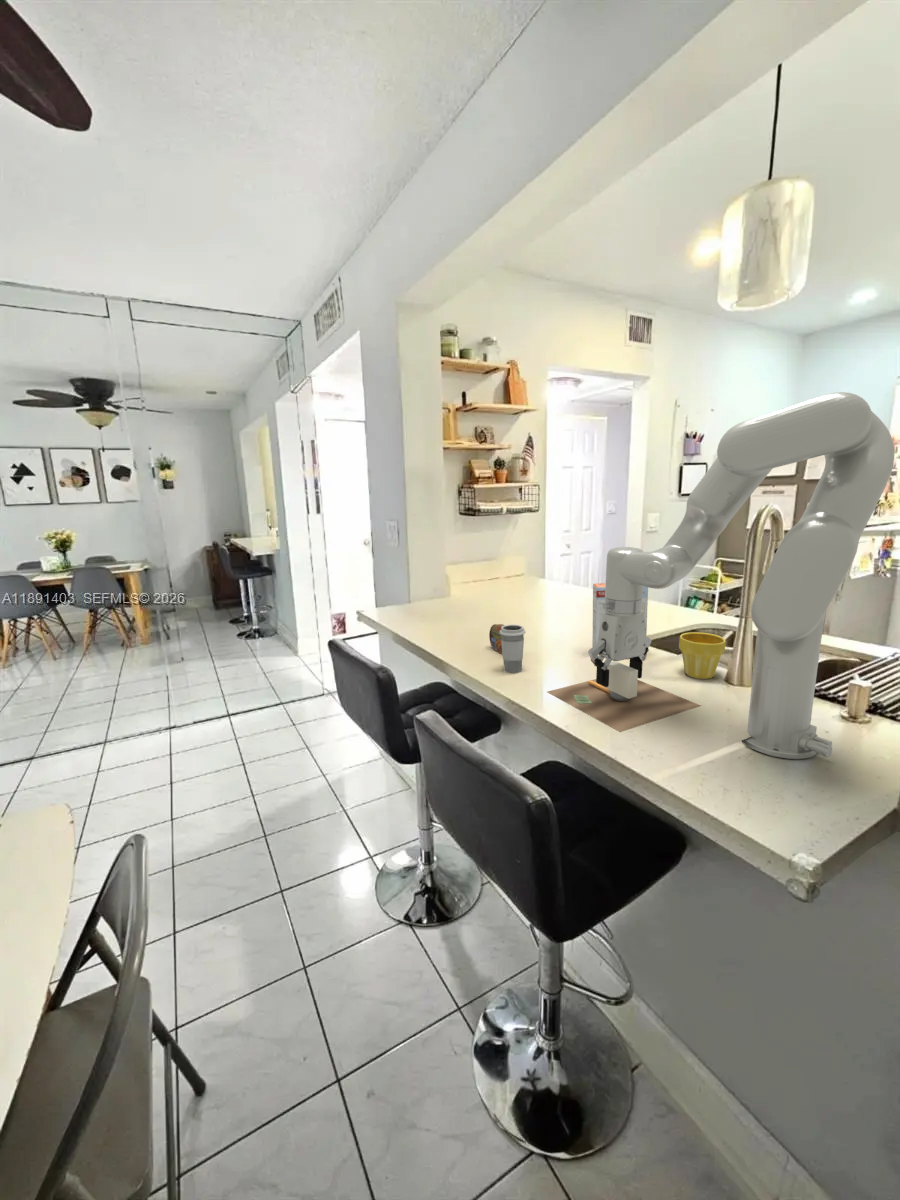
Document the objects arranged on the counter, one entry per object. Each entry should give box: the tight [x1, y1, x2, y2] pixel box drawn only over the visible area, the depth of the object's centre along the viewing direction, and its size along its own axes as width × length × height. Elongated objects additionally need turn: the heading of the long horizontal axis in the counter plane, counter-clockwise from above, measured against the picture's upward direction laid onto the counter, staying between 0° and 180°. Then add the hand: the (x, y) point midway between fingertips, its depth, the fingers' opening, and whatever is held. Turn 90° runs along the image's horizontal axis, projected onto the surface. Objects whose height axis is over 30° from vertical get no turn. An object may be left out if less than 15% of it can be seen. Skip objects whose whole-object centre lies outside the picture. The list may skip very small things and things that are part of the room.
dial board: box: [547, 678, 702, 733], centre depth 112 cm, size 23×23×2 cm
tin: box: [488, 623, 506, 655], centre depth 149 cm, size 15×3×8 cm, turn 25°
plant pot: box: [678, 631, 726, 680], centre depth 126 cm, size 10×10×10 cm
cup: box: [499, 624, 526, 674], centre depth 134 cm, size 7×7×12 cm
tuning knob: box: [587, 660, 639, 701], centre depth 113 cm, size 14×4×7 cm, turn 26°
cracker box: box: [591, 582, 649, 658], centre depth 142 cm, size 14×6×21 cm, turn 84°
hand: (619, 680), depth 111 cm, fingers open, 9 cm apart
